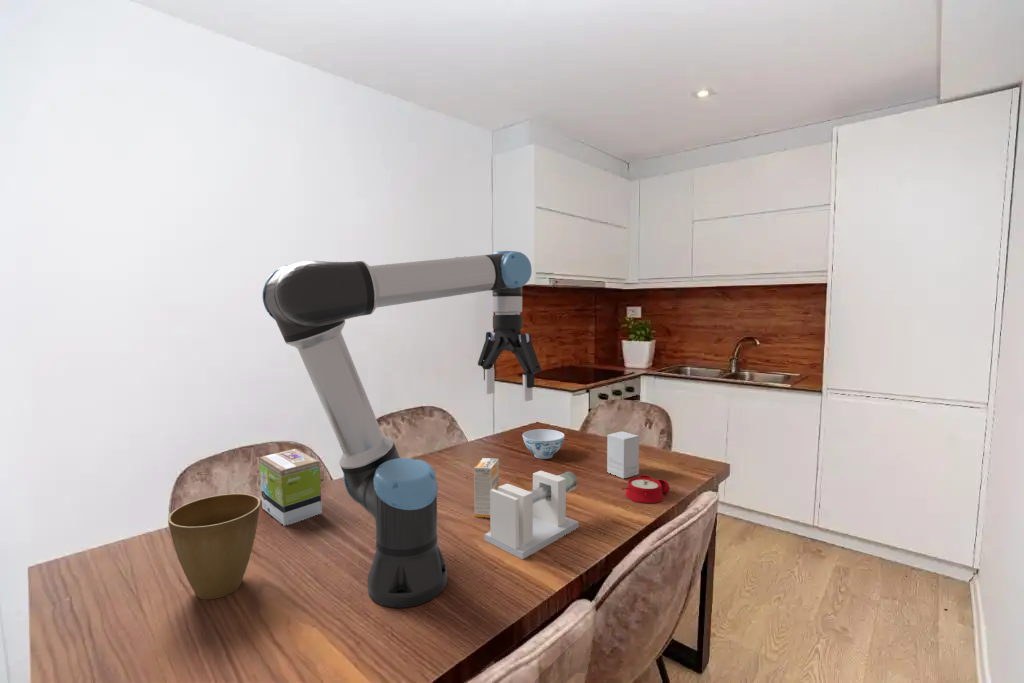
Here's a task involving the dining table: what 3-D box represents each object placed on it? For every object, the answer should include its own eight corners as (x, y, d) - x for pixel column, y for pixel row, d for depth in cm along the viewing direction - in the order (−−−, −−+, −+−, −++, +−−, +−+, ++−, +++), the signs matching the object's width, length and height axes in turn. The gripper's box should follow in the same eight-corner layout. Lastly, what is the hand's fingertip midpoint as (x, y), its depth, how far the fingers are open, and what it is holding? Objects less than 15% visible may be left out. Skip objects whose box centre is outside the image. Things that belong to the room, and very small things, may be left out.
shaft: (563, 486, 125) (563, 469, 125) (577, 491, 122) (577, 474, 121) (500, 515, 109) (500, 495, 108) (514, 521, 105) (514, 501, 105)
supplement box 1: (492, 518, 122) (491, 468, 121) (474, 517, 123) (473, 467, 122) (499, 505, 130) (499, 458, 129) (482, 504, 131) (481, 457, 130)
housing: (541, 512, 125) (541, 466, 124) (578, 527, 117) (578, 477, 116) (484, 540, 111) (484, 487, 110) (522, 559, 102) (522, 502, 101)
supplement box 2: (639, 474, 152) (640, 435, 151) (623, 479, 148) (624, 439, 147) (622, 468, 159) (622, 430, 158) (606, 472, 154) (606, 434, 153)
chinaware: (566, 462, 164) (566, 440, 163) (522, 462, 164) (522, 440, 163) (562, 449, 179) (562, 429, 178) (522, 449, 179) (522, 429, 178)
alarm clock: (616, 485, 134) (642, 461, 144) (618, 505, 136) (644, 479, 146) (650, 495, 127) (675, 469, 137) (652, 516, 128) (677, 489, 139)
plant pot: (163, 622, 83) (157, 532, 81) (183, 577, 96) (178, 500, 95) (260, 600, 89) (256, 516, 87) (266, 561, 102) (262, 488, 101)
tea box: (260, 509, 128) (257, 455, 126) (298, 498, 135) (296, 447, 134) (283, 527, 117) (281, 469, 116) (323, 514, 125) (321, 459, 124)
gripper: (555, 314, 115) (555, 401, 116) (485, 312, 132) (485, 388, 134) (534, 314, 109) (534, 406, 111) (464, 313, 127) (465, 392, 128)
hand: (508, 397), depth 122 cm, fingers open, 13 cm apart
